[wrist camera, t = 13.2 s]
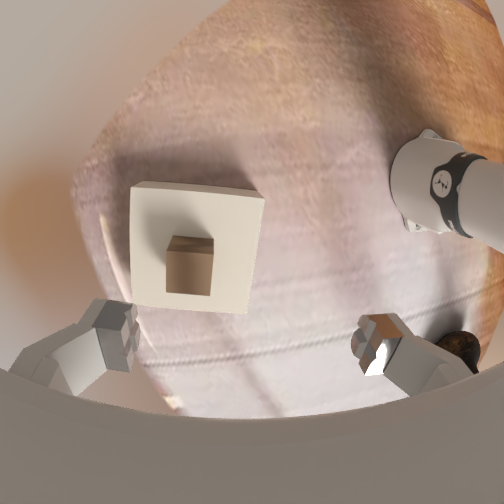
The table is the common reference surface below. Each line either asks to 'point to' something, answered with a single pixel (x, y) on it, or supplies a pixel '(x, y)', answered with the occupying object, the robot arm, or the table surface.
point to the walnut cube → (189, 265)
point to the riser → (194, 225)
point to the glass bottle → (463, 348)
